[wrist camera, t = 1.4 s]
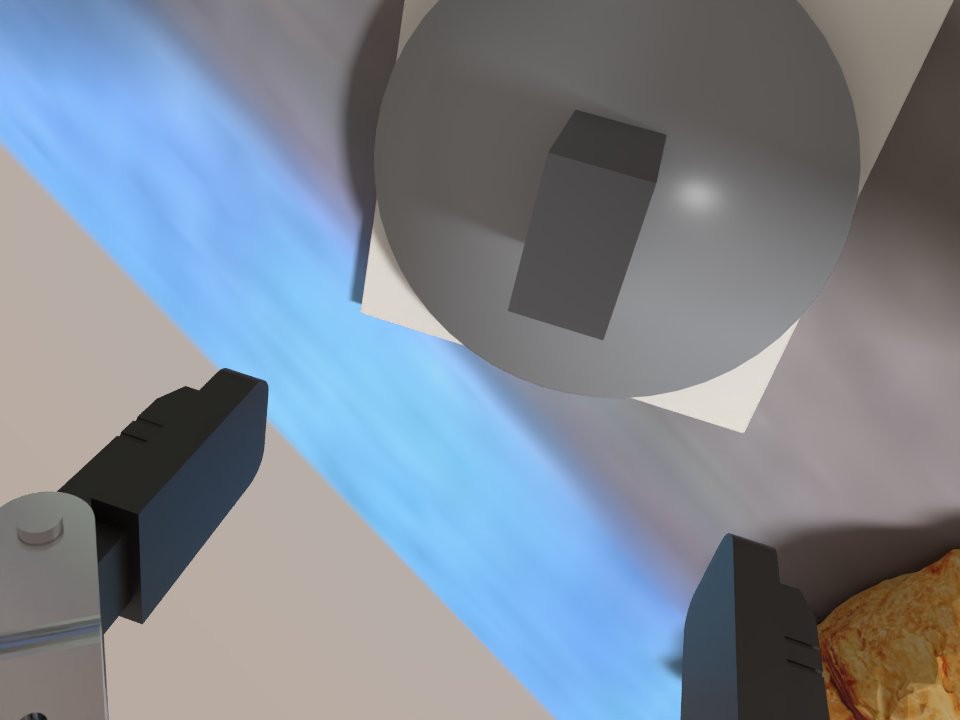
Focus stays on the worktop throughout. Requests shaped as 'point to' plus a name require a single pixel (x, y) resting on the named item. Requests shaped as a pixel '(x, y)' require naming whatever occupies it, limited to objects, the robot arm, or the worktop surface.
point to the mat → (877, 102)
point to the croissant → (896, 648)
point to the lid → (617, 183)
